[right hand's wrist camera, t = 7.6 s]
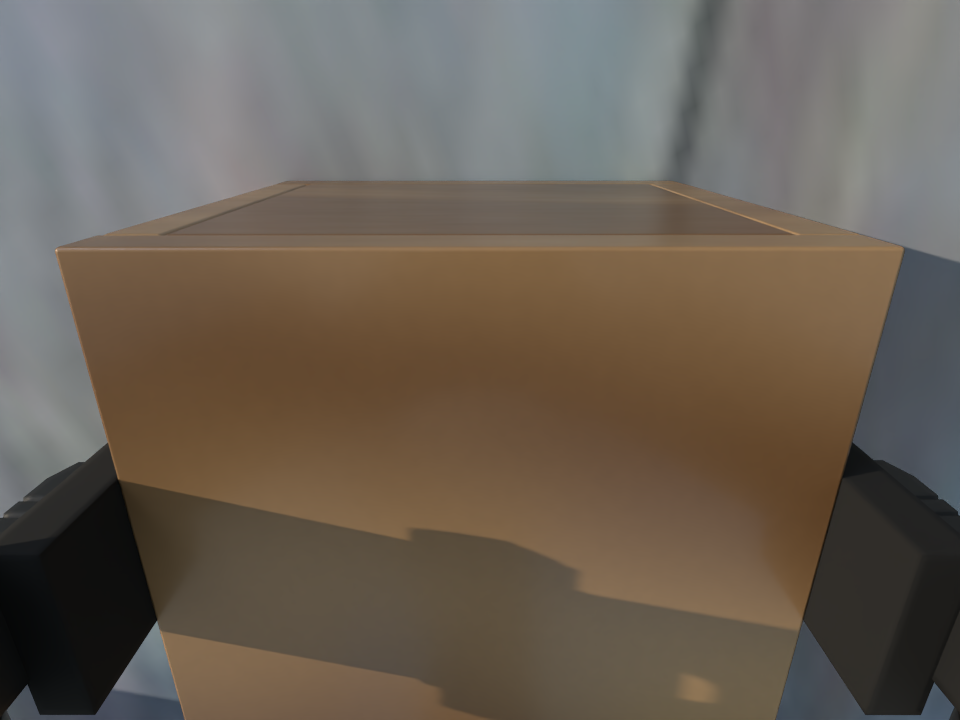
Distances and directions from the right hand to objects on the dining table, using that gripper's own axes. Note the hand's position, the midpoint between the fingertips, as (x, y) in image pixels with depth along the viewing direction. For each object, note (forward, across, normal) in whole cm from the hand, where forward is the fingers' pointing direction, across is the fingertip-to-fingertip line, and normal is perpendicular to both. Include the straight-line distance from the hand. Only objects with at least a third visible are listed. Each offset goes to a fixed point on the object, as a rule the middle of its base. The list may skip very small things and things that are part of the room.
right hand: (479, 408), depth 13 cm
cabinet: (+4, 0, -5) cm, 7 cm away
